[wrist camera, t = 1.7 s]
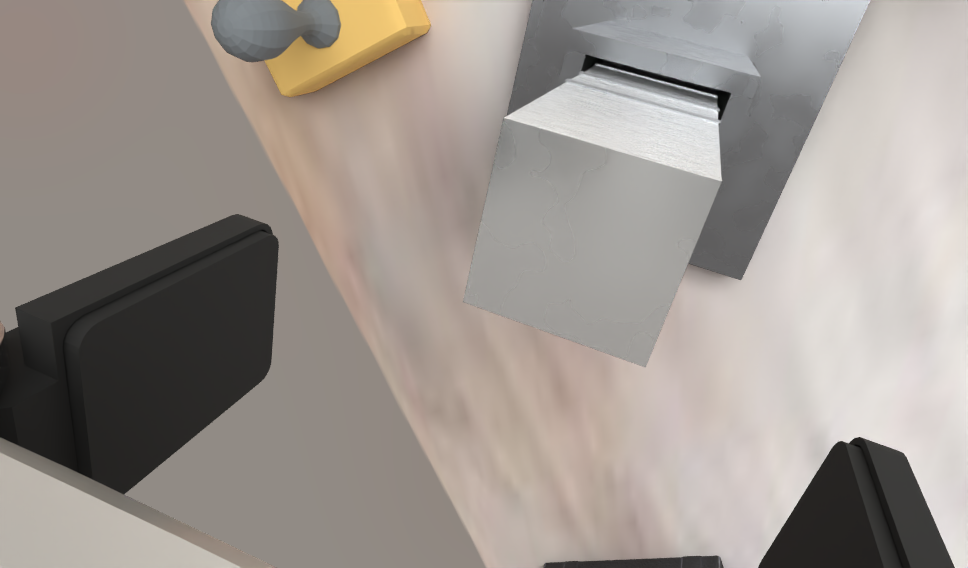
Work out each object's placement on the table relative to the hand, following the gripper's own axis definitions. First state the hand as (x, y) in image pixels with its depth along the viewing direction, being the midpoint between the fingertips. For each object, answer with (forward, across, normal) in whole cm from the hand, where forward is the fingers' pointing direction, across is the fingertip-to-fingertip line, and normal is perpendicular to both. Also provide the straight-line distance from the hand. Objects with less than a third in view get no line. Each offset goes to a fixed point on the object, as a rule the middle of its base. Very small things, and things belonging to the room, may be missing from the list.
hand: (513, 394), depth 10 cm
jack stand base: (+30, 0, -1) cm, 30 cm away
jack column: (+28, 0, -1) cm, 28 cm away
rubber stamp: (+30, +20, -1) cm, 36 cm away
